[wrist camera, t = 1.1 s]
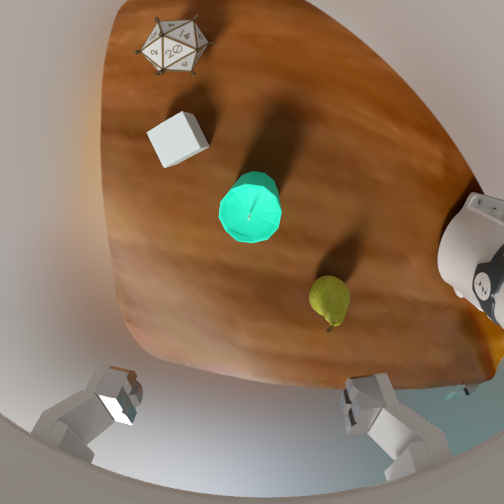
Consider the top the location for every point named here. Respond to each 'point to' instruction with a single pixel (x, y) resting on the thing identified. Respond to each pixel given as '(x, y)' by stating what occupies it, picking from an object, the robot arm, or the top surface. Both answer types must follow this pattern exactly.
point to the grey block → (177, 139)
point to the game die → (175, 46)
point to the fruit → (330, 299)
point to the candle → (251, 208)
